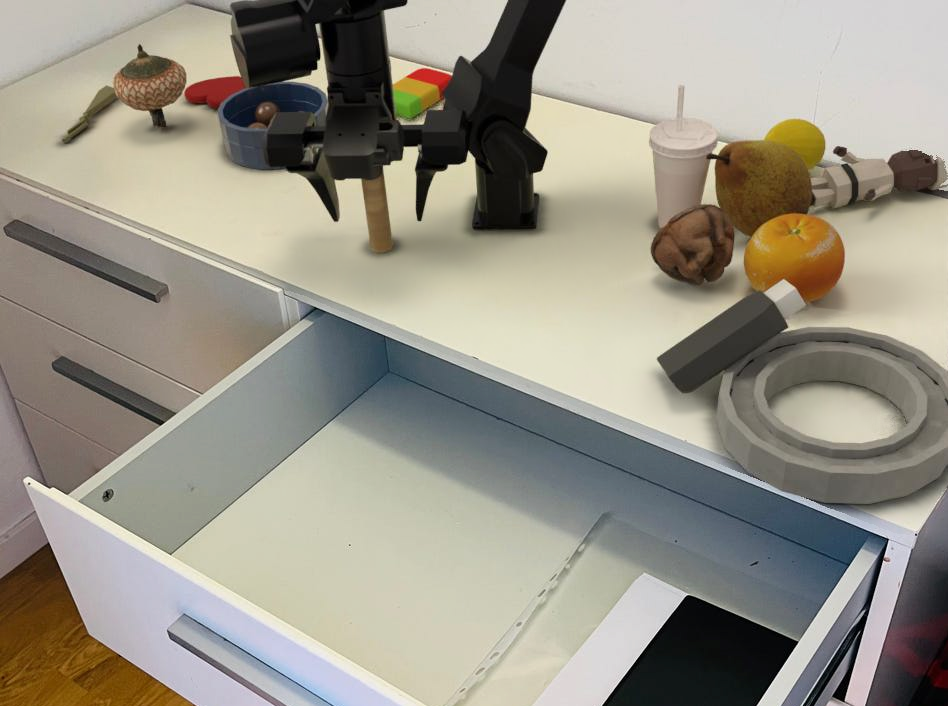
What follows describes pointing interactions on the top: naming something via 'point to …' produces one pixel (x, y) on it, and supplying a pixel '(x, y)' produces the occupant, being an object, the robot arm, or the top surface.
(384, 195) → the stick
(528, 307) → the top surface
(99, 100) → the olive green tapered piece
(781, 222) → the fruit
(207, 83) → the lollipop
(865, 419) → the top surface
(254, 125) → the bead
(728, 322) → the usb drive
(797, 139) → the fruit
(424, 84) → the popsicle
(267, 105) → the bead
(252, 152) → the bowl
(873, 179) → the toy
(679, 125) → the smoothie
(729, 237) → the brown walnut half
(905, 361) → the mechanical component
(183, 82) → the acorn
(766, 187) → the fruit
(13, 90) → the top surface
